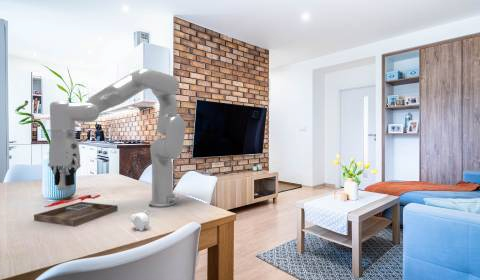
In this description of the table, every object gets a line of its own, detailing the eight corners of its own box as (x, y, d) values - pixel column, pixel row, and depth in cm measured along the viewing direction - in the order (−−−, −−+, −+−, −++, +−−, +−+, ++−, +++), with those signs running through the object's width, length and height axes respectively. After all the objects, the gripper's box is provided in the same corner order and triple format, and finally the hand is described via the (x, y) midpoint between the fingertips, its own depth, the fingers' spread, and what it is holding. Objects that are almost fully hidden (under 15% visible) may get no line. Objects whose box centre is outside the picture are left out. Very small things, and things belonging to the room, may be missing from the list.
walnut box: (117, 212, 110) (117, 205, 110) (74, 228, 90) (74, 220, 90) (81, 208, 115) (81, 201, 115) (34, 222, 96) (34, 214, 96)
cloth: (45, 211, 113) (45, 206, 113) (39, 205, 123) (39, 200, 123) (108, 200, 132) (108, 196, 132) (99, 196, 142) (99, 192, 141)
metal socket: (92, 210, 109) (92, 205, 109) (78, 215, 102) (78, 209, 102) (80, 209, 111) (80, 203, 111) (65, 214, 104) (65, 208, 104)
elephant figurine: (141, 224, 96) (141, 208, 96) (156, 228, 92) (156, 211, 91) (124, 229, 90) (124, 212, 90) (140, 234, 86) (140, 216, 86)
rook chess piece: (61, 188, 97) (61, 167, 97) (74, 187, 98) (73, 166, 97) (54, 191, 93) (53, 168, 92) (67, 190, 93) (67, 168, 93)
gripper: (90, 135, 96) (91, 184, 97) (55, 135, 101) (56, 181, 101) (72, 135, 89) (73, 188, 89) (35, 135, 93) (37, 185, 94)
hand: (64, 184), depth 95 cm, fingers closed on rook chess piece, 4 cm apart
